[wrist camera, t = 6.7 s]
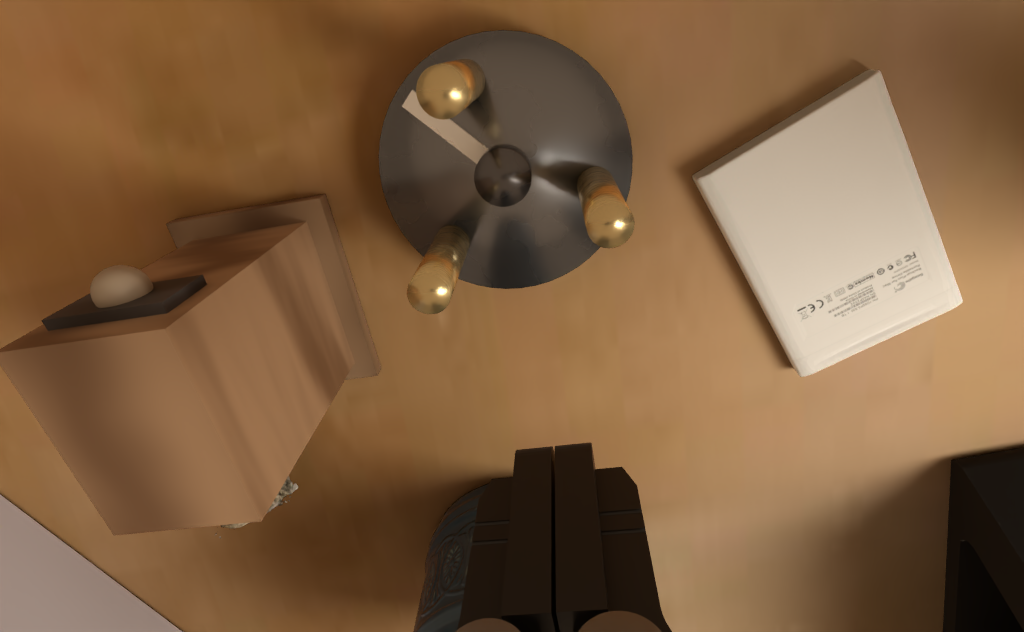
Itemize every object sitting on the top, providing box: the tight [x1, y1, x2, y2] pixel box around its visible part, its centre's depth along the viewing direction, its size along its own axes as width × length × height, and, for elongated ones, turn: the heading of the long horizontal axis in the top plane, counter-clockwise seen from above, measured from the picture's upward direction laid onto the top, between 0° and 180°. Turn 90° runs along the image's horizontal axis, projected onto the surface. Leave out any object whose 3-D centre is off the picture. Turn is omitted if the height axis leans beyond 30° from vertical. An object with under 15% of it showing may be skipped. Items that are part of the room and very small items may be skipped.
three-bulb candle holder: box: [379, 30, 634, 314], centre depth 22 cm, size 11×11×8 cm
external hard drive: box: [692, 69, 963, 377], centre depth 26 cm, size 2×8×12 cm
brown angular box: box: [0, 194, 381, 535], centre depth 24 cm, size 8×10×12 cm
